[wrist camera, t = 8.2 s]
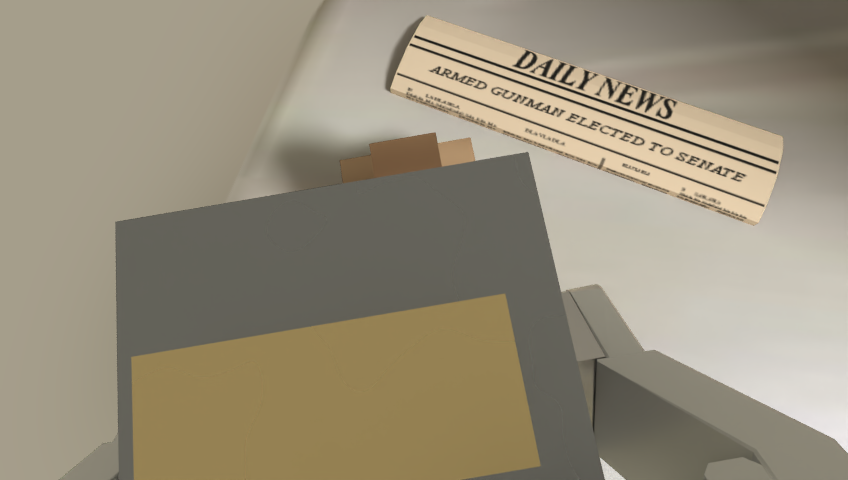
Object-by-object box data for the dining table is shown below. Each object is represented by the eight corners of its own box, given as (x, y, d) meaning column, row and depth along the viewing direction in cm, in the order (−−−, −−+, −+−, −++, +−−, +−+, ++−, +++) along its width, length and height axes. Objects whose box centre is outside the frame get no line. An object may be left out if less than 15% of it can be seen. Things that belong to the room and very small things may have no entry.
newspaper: (391, 98, 35) (389, 84, 33) (433, 12, 36) (432, -6, 34) (746, 229, 31) (764, 220, 30) (776, 129, 33) (794, 115, 31)
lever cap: (325, 318, 14) (54, 194, 4) (475, 293, 14) (544, 111, 4) (344, 481, 13) (42, 802, 3) (505, 453, 13) (688, 691, 3)
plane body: (352, 192, 32) (317, 126, 24) (470, 172, 32) (478, 98, 24) (409, 590, 27) (390, 695, 18) (550, 565, 27) (600, 659, 18)
